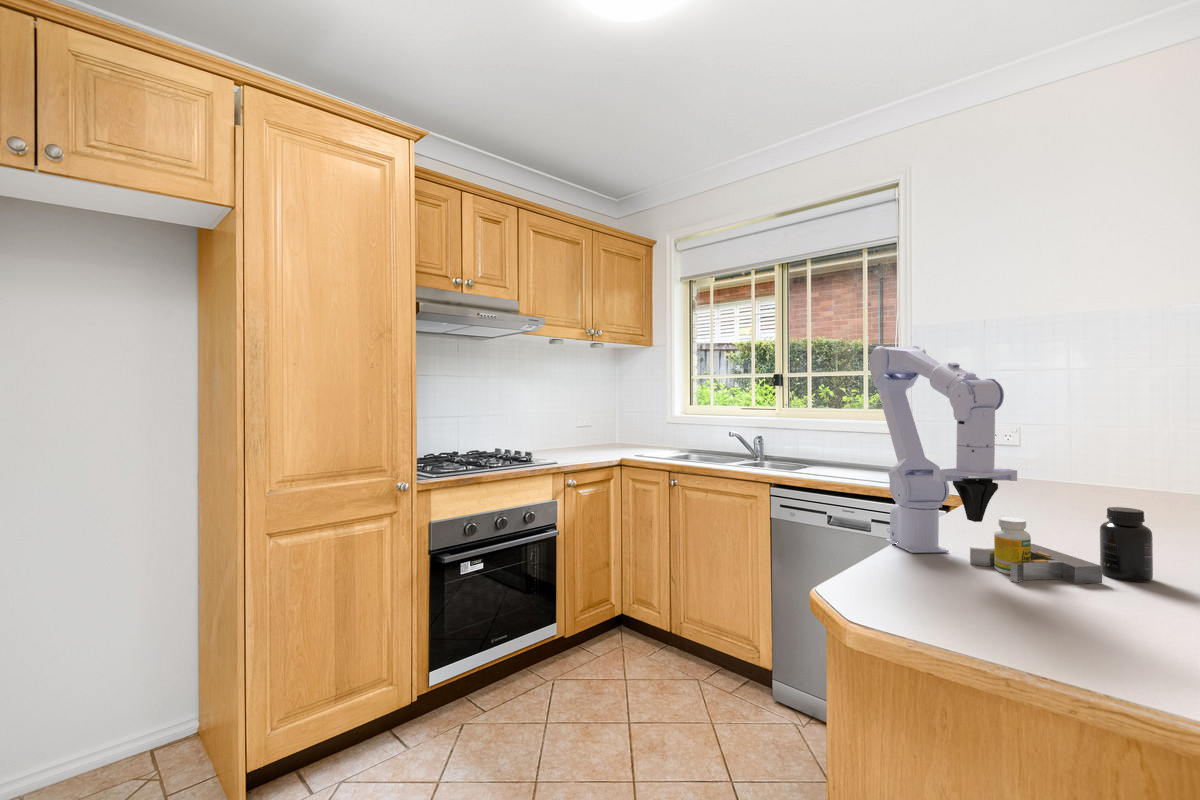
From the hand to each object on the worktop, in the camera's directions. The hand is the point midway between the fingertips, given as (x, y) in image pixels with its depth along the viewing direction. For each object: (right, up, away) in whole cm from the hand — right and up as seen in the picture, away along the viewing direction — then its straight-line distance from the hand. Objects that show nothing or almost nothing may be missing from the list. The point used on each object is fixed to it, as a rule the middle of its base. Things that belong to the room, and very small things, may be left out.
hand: (974, 520), depth 101 cm
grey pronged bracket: (+10, -9, +1) cm, 14 cm away
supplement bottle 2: (+25, -10, -2) cm, 27 cm away
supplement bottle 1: (+7, -10, +1) cm, 12 cm away
